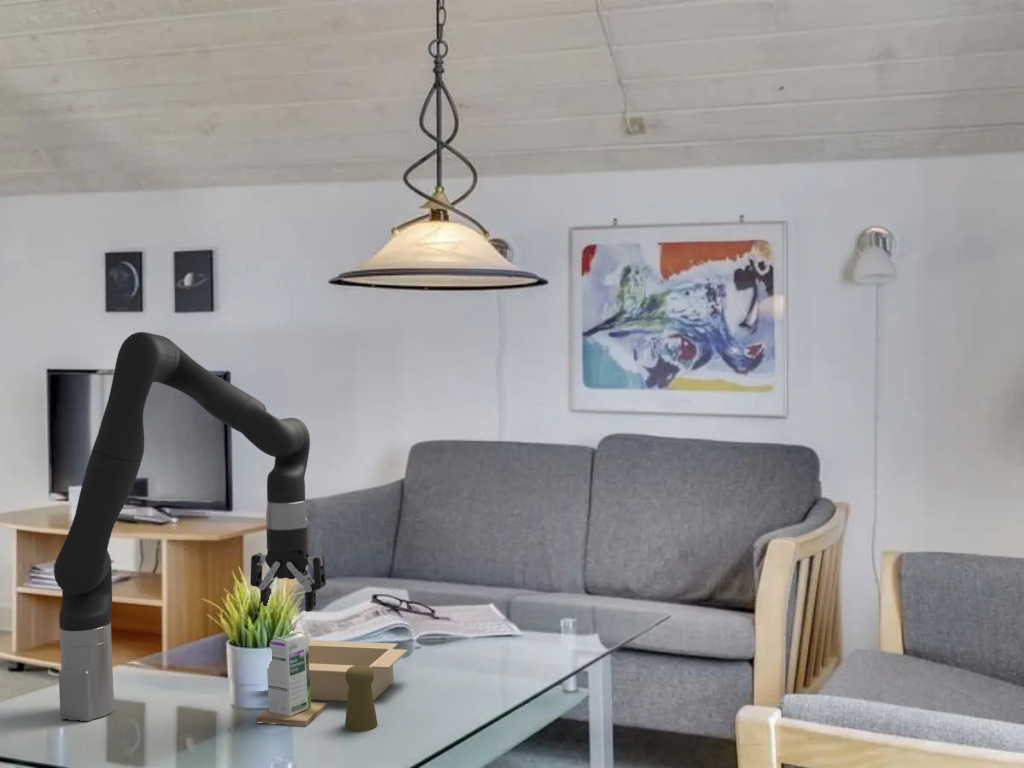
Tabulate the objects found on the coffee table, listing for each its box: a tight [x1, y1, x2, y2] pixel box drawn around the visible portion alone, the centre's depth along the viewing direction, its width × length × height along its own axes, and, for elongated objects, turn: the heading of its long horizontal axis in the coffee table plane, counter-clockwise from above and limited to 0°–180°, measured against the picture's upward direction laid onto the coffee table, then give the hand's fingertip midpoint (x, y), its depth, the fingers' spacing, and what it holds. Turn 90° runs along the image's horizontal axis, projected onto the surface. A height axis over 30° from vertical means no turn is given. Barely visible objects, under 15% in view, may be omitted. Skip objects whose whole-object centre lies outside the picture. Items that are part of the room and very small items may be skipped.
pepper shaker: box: [344, 665, 378, 733], centre depth 202 cm, size 6×6×11 cm
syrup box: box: [266, 630, 312, 717], centre depth 208 cm, size 6×6×14 cm
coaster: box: [255, 701, 328, 727], centre depth 208 cm, size 10×10×1 cm
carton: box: [308, 639, 409, 702], centre depth 223 cm, size 26×20×7 cm
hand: (288, 609), depth 207 cm, fingers open, 8 cm apart
